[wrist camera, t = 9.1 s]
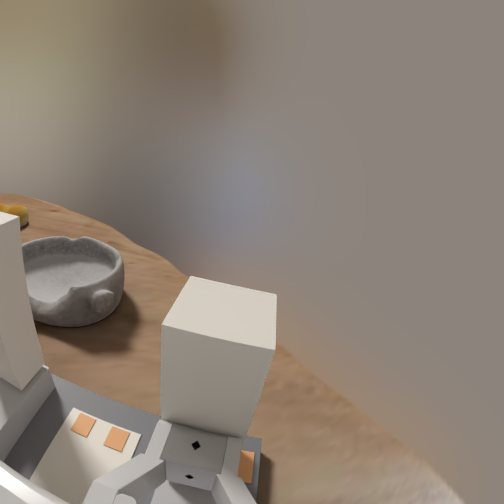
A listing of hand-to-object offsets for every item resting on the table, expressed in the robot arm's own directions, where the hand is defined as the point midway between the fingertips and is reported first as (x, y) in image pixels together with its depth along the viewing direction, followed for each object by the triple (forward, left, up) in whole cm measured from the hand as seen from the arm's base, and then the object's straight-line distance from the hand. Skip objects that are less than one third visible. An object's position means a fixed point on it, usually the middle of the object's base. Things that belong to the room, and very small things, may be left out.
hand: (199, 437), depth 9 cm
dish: (-26, -3, -9) cm, 28 cm away
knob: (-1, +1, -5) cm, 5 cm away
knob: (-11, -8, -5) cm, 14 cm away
